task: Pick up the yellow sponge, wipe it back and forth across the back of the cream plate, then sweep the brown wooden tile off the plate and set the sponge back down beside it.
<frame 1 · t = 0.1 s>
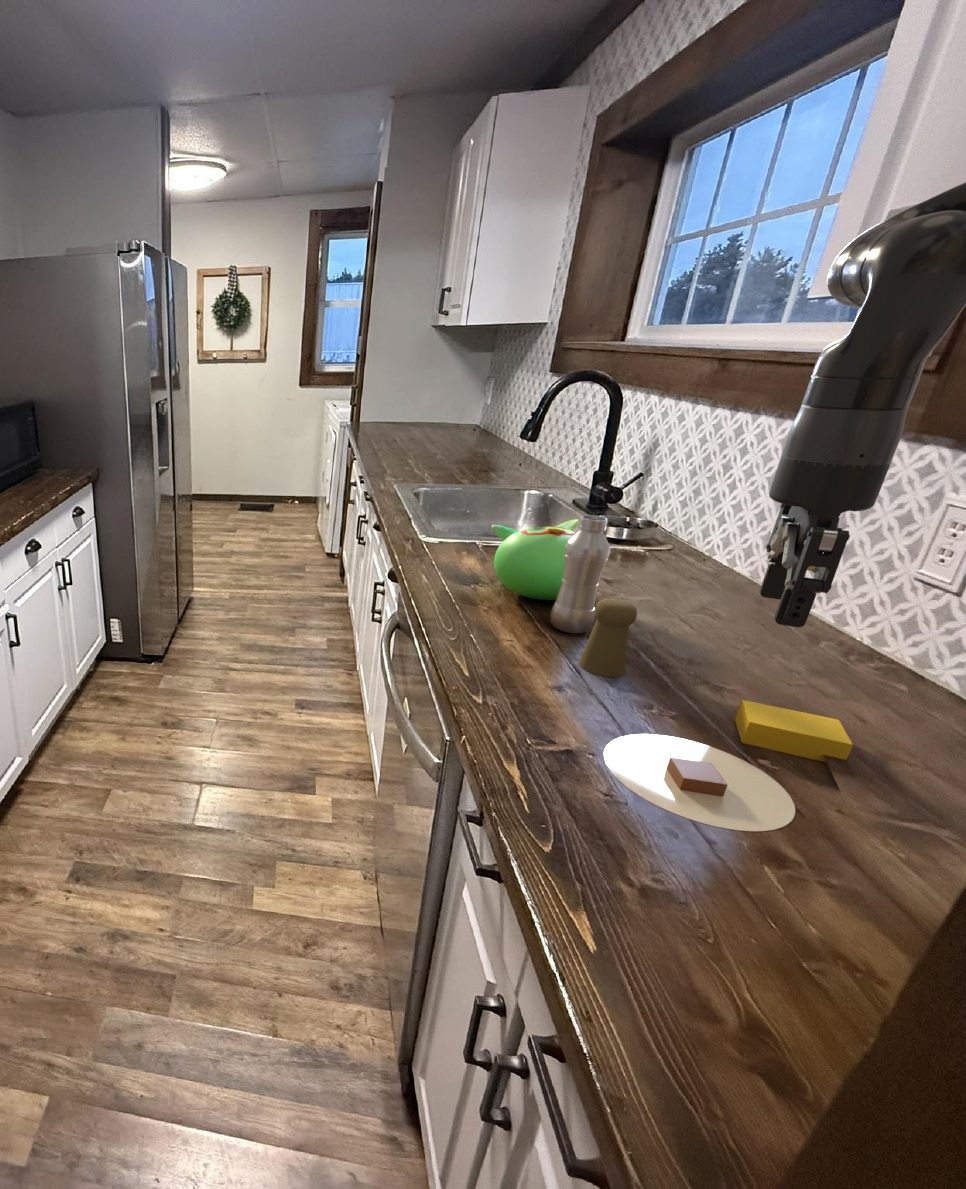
hand: (779, 610, 67), 20 cm above the worktop, tool pointing down, fingers open, 8 cm apart
cork: (601, 668, 97), on the worktop
plastic bottle: (568, 630, 110), on the worktop
brown wooden tile: (693, 782, 70), point 1 cm above the worktop, touching plate
plate: (690, 784, 72), on the worktop
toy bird: (538, 596, 125), on the worktop
sponge: (783, 748, 77), on the worktop
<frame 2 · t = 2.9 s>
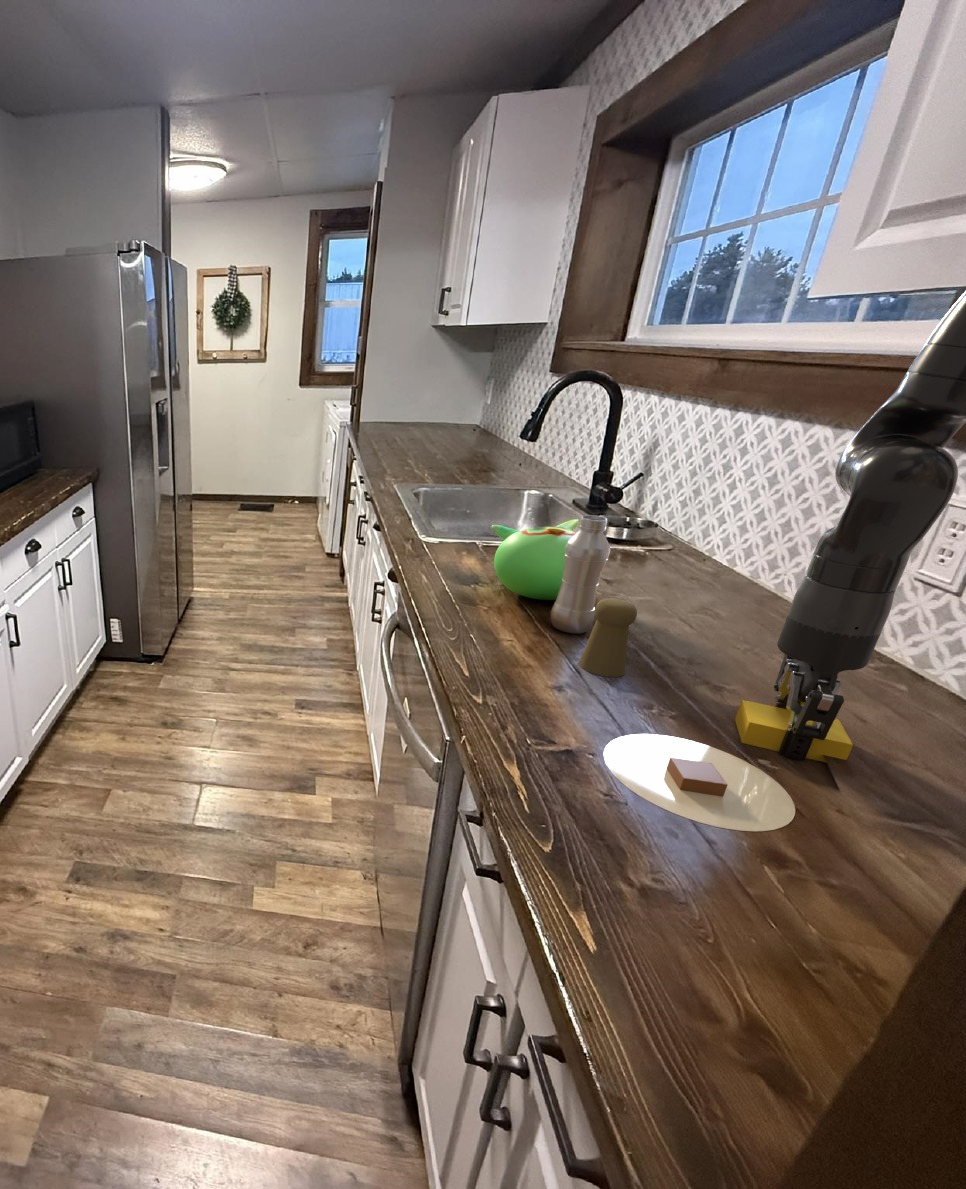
hand: (784, 744, 77), 1 cm above the worktop, tool pointing down, fingers closed on sponge, 6 cm apart
sponge: (783, 748, 77), on the worktop, touching gripper
everything else where it was.
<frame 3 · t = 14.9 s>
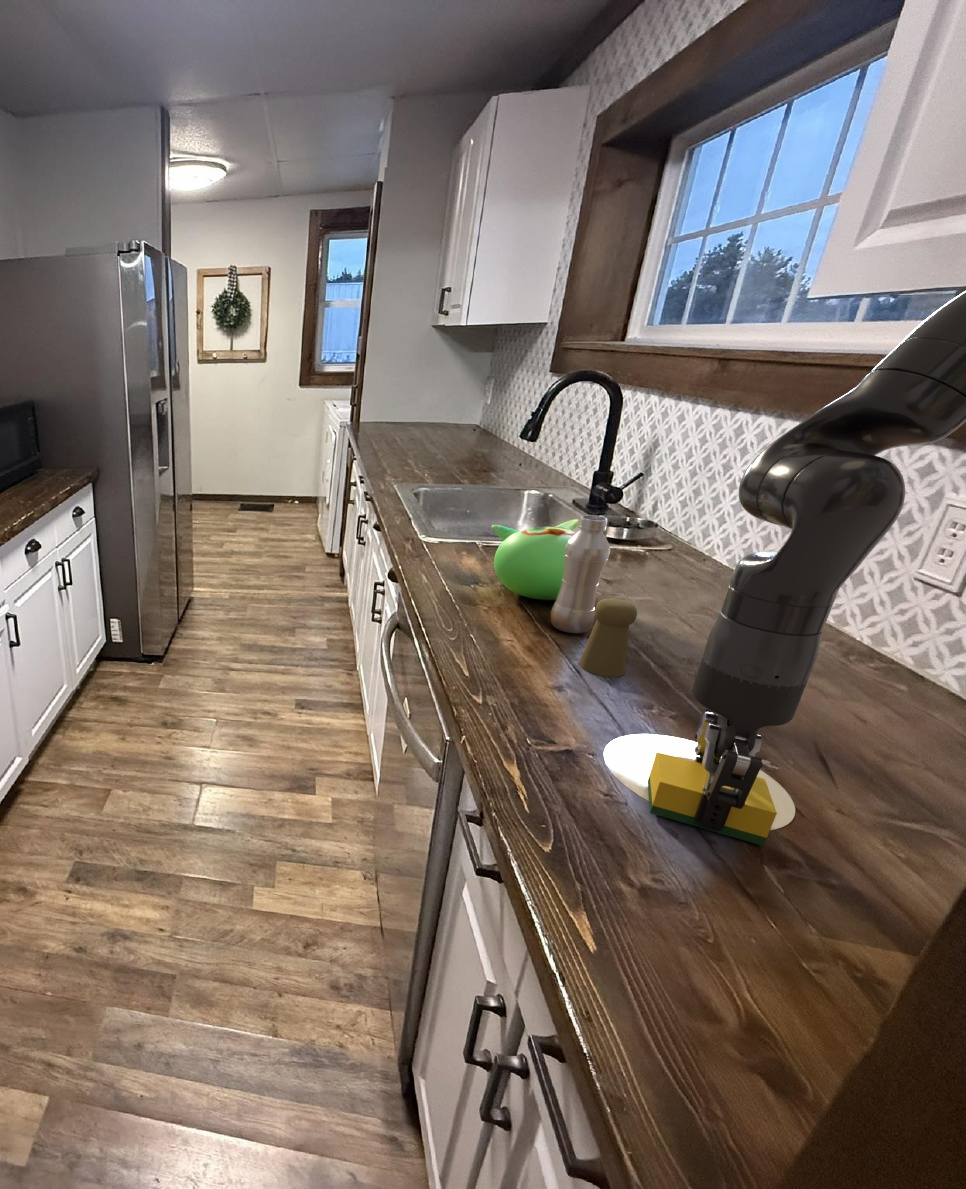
hand: (703, 806, 65), 2 cm above the worktop, tool pointing down, fingers closed on sponge, 6 cm apart
brown wooden tile: (693, 780, 71), point 1 cm above the worktop, touching gripper, plate
sponge: (701, 811, 66), point 1 cm above the worktop, touching gripper
everything else where it was.
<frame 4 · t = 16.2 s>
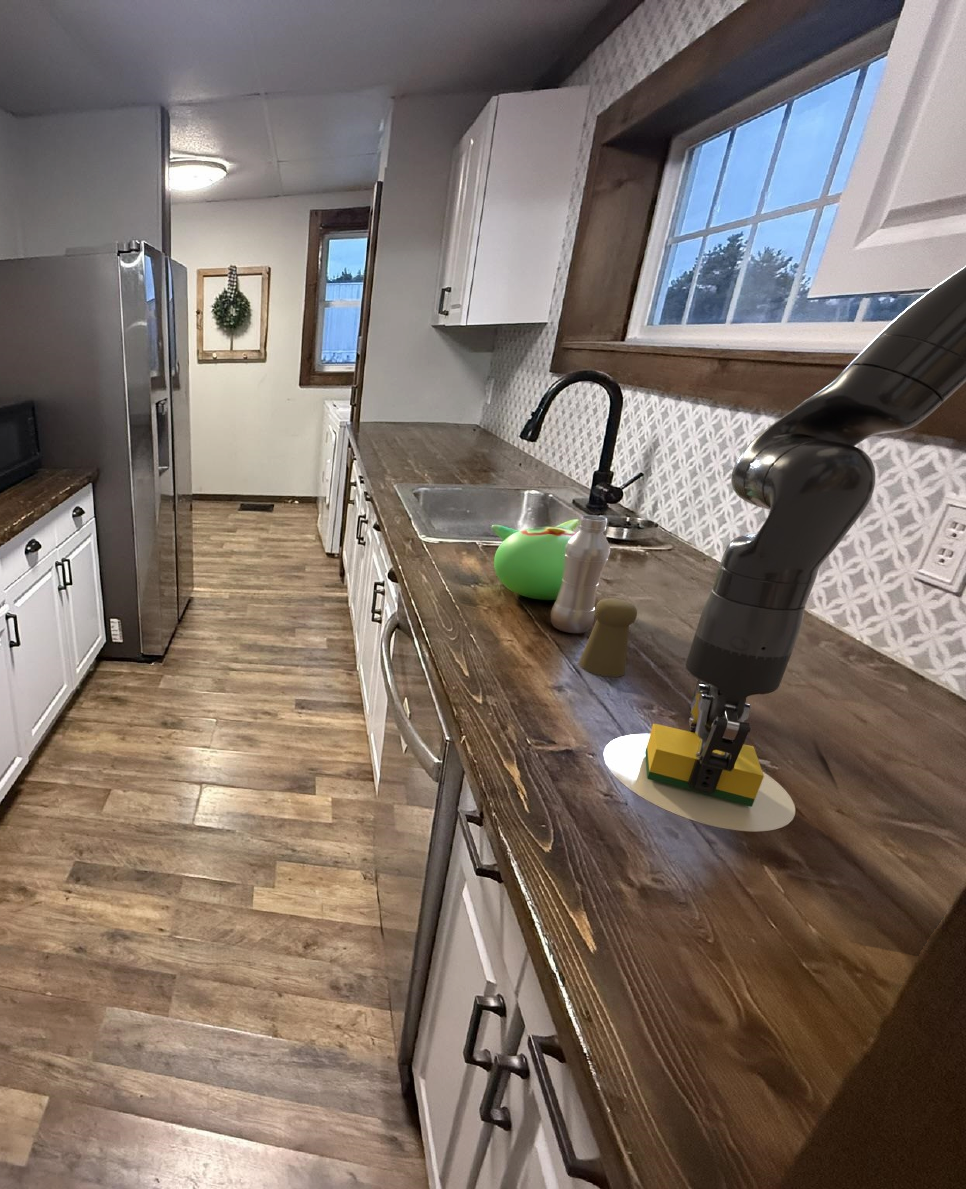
hand: (696, 772, 70), 2 cm above the worktop, tool pointing down, fingers closed on sponge, 6 cm apart
brown wooden tile: (685, 750, 76), point 1 cm above the worktop, touching gripper, plate
sponge: (694, 777, 71), point 1 cm above the worktop, touching gripper
everything else where it was.
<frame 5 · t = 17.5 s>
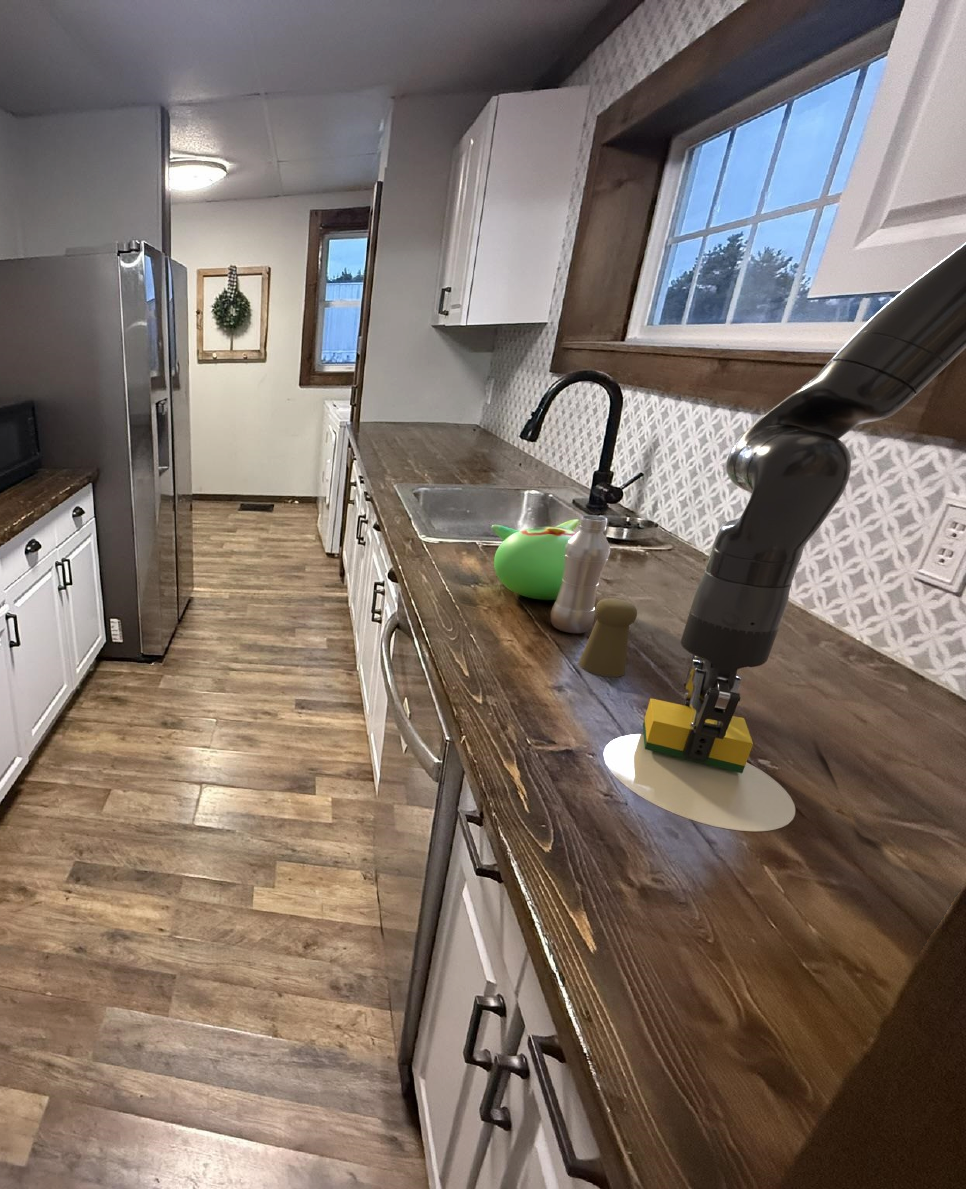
hand: (691, 743, 75), 2 cm above the worktop, tool pointing down, fingers closed on sponge, 6 cm apart
brown wooden tile: (678, 727, 80), point 1 cm above the worktop, tilted 9°, touching gripper, plate
sponge: (689, 748, 75), point 1 cm above the worktop, touching gripper
everything else where it was.
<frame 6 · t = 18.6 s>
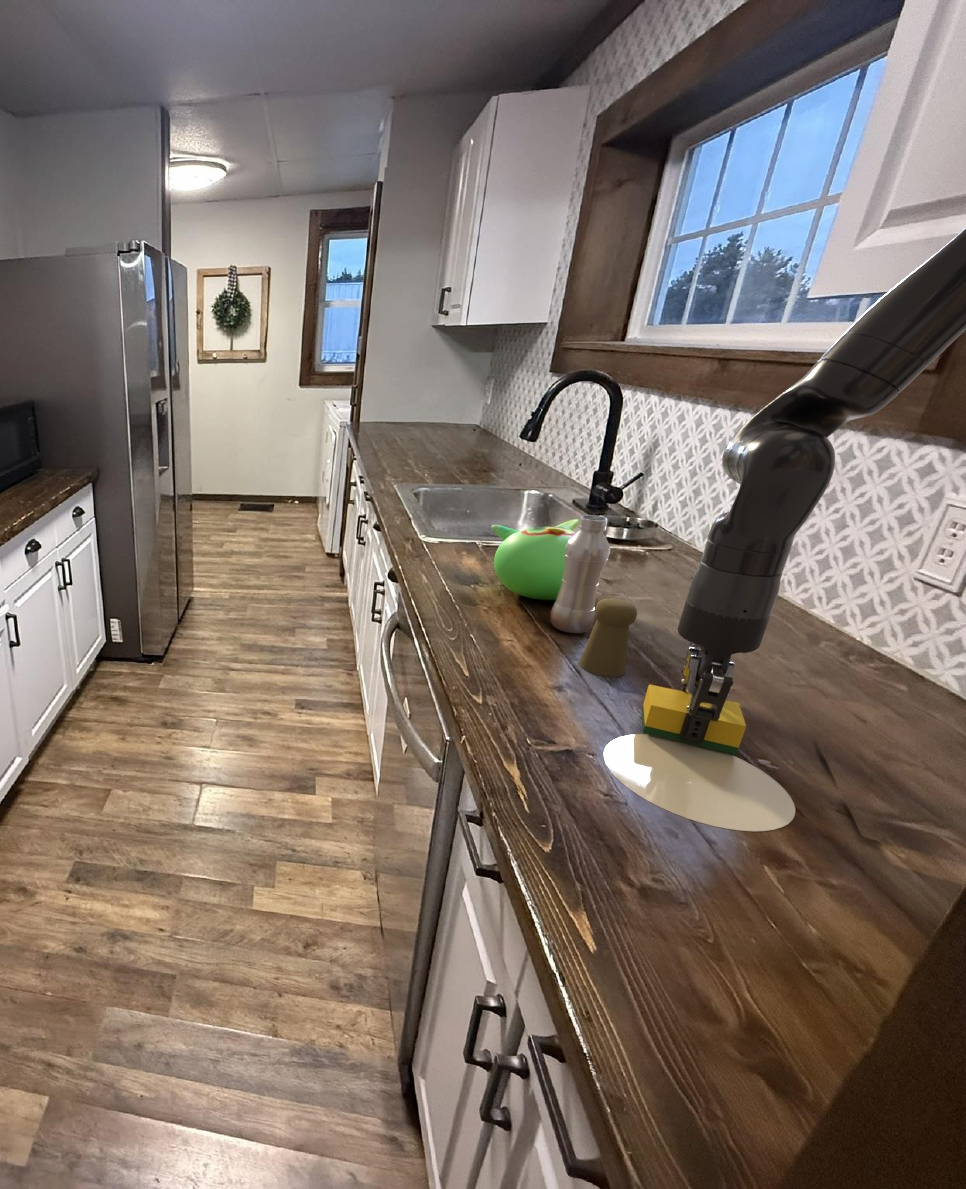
hand: (687, 727, 79), 2 cm above the worktop, tool pointing down, fingers closed on sponge, 6 cm apart
brown wooden tile: (675, 720, 83), on the worktop, touching sponge
sponge: (685, 731, 79), point 1 cm above the worktop, touching brown wooden tile, gripper
everything else where it was.
when the fingers open (1 cm above the worktop, at t = 23.8 s): sponge stays where it is, on the worktop.
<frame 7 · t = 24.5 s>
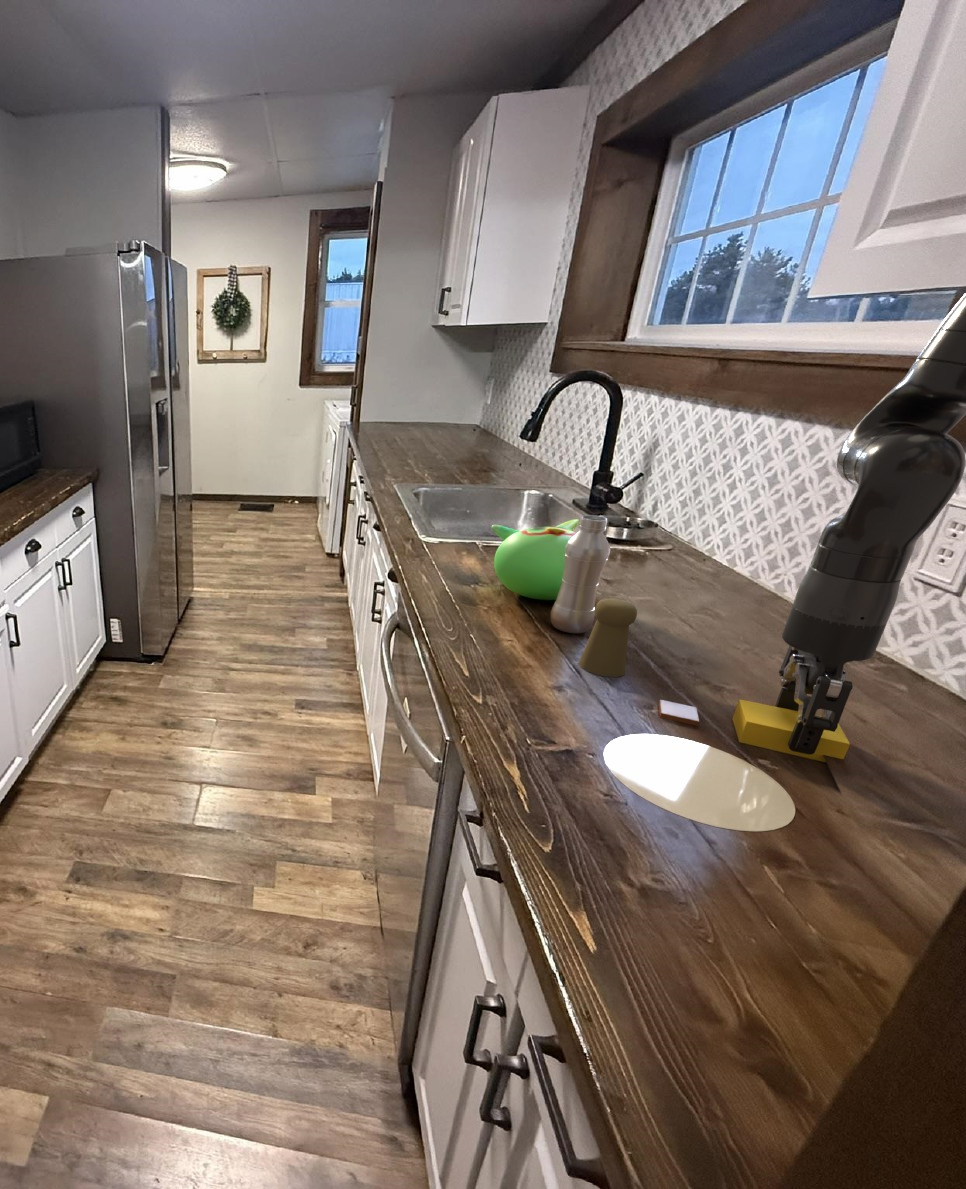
hand: (791, 733, 76), 2 cm above the worktop, tool pointing down, fingers open, 8 cm apart
brown wooden tile: (675, 720, 83), on the worktop
sponge: (780, 748, 77), on the worktop
everything else where it was.
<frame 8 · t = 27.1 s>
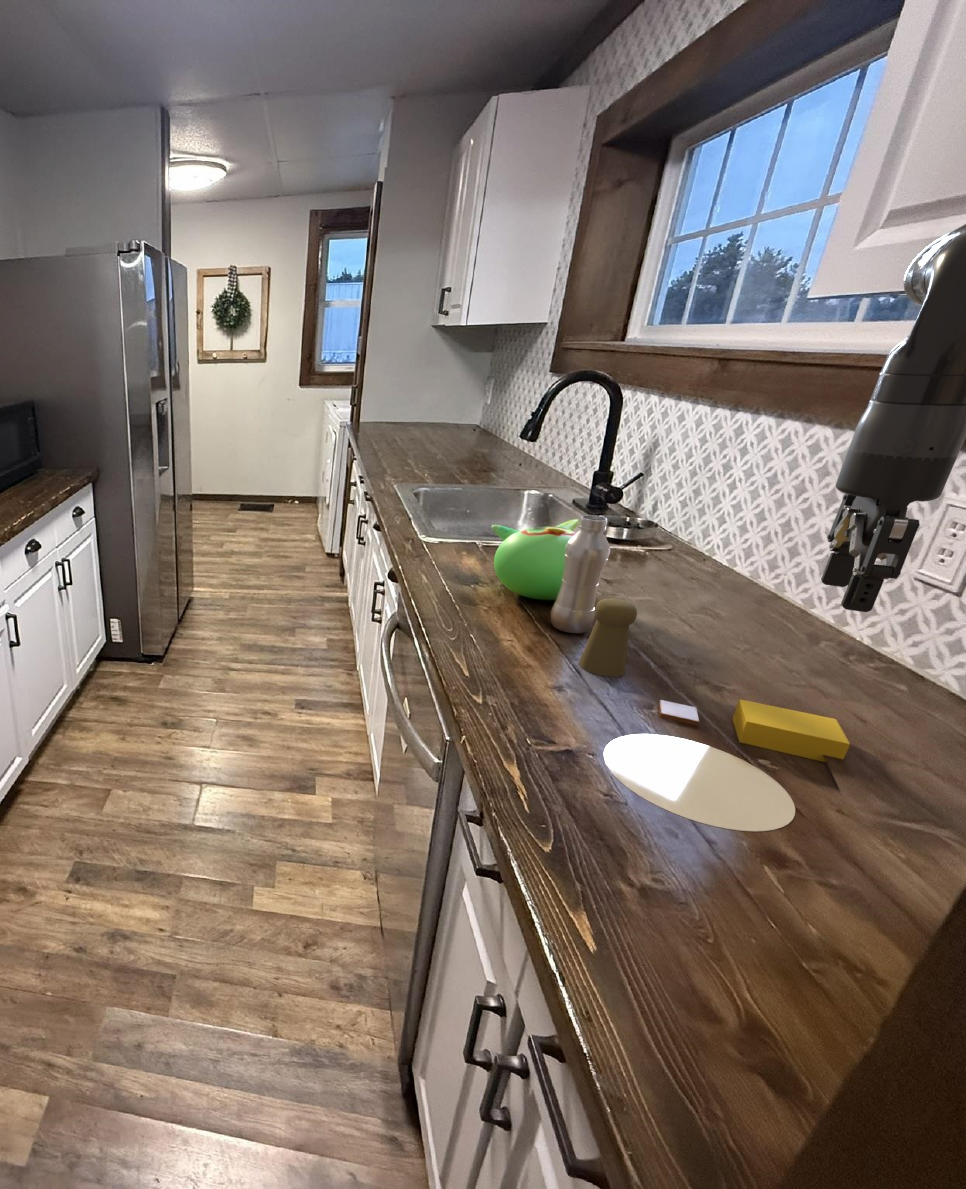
hand: (843, 596, 70), 20 cm above the worktop, tool pointing down, fingers open, 8 cm apart
nothing on the worktop moved.
at the end: brown wooden tile touching worktop; brown wooden tile on the worktop; sponge inside the target area (0.2 cm from its centre), on the worktop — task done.
